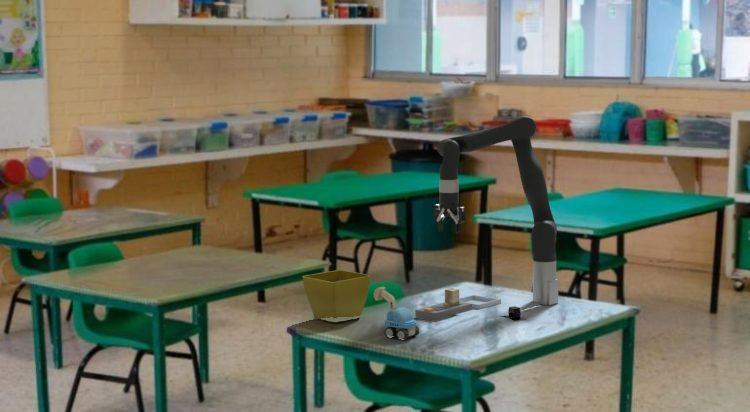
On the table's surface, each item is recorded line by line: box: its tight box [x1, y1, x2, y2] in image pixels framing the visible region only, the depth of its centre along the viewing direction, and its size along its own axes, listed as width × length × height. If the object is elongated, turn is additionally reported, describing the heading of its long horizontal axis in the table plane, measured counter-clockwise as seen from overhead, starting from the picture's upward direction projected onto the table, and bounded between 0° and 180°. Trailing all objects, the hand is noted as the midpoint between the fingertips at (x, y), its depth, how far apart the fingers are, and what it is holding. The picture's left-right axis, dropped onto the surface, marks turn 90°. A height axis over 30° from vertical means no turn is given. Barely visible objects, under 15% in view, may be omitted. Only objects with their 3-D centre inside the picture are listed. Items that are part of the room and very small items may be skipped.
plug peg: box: [444, 287, 460, 307], centre depth 485 cm, size 4×4×9 cm
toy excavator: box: [373, 286, 420, 340], centre depth 447 cm, size 9×17×17 cm, turn 51°
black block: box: [502, 305, 528, 322], centre depth 474 cm, size 12×7×5 cm, turn 24°
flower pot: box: [302, 269, 371, 320], centre depth 476 cm, size 19×19×17 cm
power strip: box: [414, 301, 473, 322], centre depth 482 cm, size 10×22×4 cm, turn 137°
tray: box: [459, 294, 502, 310], centre depth 496 cm, size 14×14×2 cm
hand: (449, 232), depth 490 cm, fingers open, 8 cm apart
